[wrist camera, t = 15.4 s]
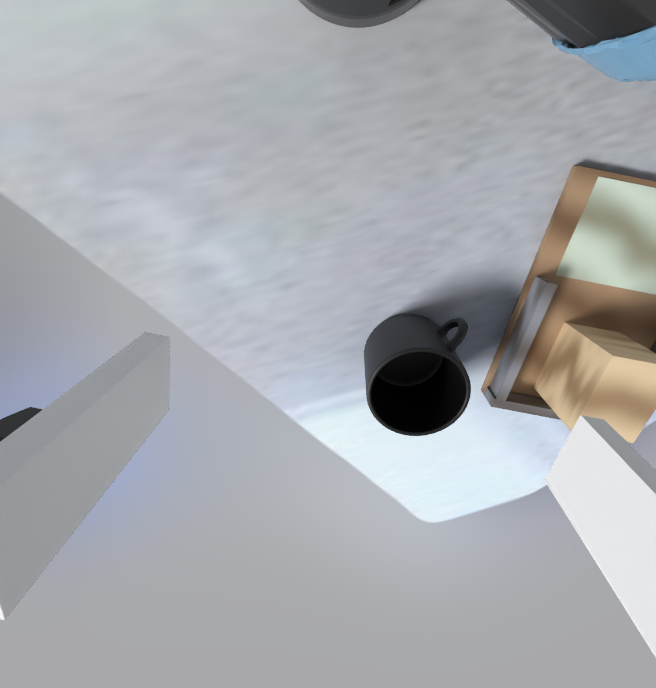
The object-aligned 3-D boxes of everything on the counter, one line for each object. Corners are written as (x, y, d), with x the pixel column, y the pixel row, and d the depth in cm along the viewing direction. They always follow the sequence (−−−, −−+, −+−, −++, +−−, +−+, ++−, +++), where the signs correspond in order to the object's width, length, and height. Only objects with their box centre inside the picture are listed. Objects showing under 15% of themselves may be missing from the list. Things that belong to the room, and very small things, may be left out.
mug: (484, 331, 41) (516, 370, 33) (407, 402, 45) (419, 452, 37) (421, 277, 39) (439, 304, 31) (347, 356, 43) (345, 399, 35)
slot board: (573, 166, 34) (595, 165, 31) (743, 200, 34) (782, 203, 31) (481, 389, 44) (491, 406, 41) (613, 415, 44) (633, 433, 41)
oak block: (564, 321, 39) (612, 355, 32) (620, 332, 39) (681, 368, 32) (533, 387, 42) (570, 431, 35) (585, 396, 42) (633, 443, 35)
